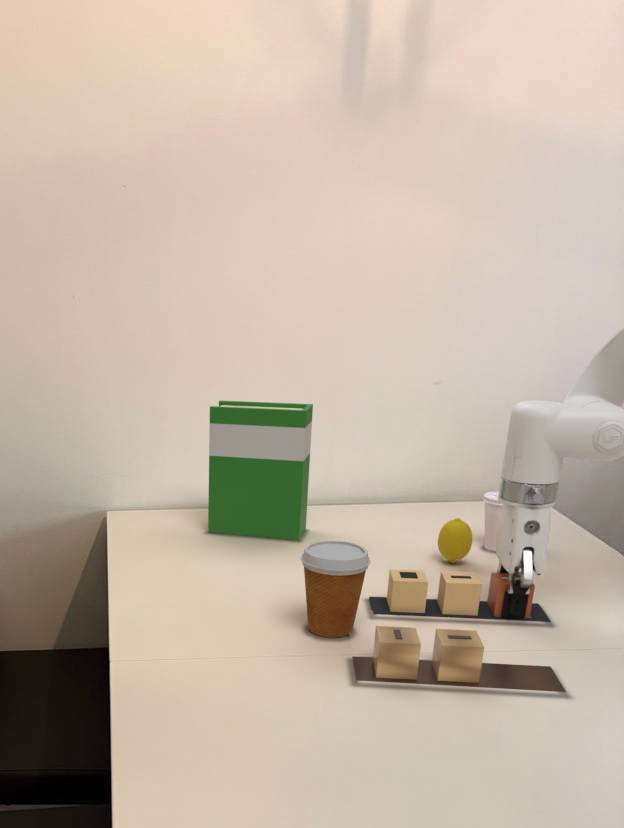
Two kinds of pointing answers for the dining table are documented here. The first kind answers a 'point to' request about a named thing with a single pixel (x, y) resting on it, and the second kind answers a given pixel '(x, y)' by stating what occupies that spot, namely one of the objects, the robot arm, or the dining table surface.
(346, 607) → the disposable coffee cup
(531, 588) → the block
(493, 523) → the smoothie
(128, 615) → the dining table surface
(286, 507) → the hardback book
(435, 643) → the front word
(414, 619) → the dining table surface
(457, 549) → the lemon
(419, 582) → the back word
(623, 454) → the robot arm
